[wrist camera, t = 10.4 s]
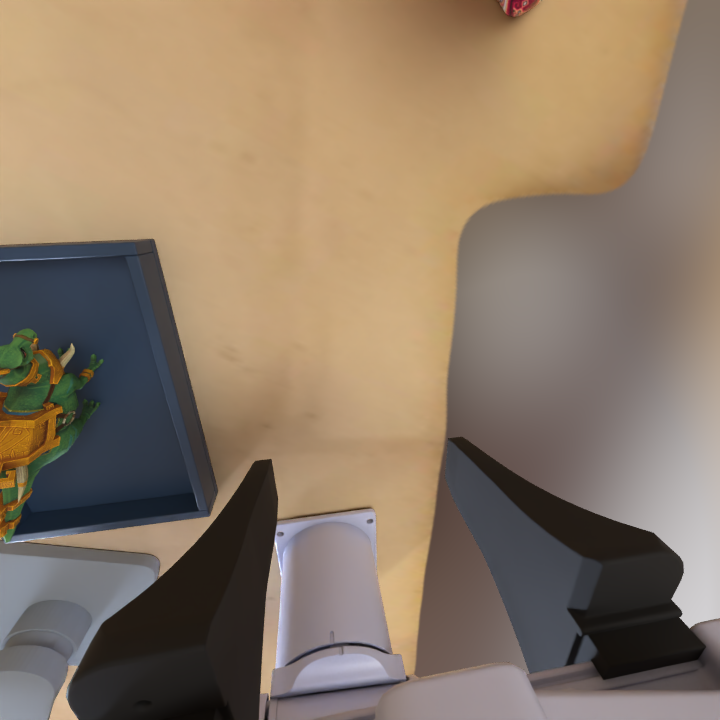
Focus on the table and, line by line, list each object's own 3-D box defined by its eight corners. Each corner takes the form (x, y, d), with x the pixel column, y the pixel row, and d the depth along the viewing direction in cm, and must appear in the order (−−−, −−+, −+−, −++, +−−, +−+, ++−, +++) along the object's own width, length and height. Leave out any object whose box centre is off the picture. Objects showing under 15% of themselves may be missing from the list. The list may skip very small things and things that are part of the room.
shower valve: (-98, 767, 23) (-132, 625, 18) (-26, 669, 28) (-37, 536, 23) (108, 758, 26) (127, 635, 21) (140, 671, 31) (161, 555, 26)
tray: (218, 491, 25) (210, 516, 22) (32, 514, 23) (4, 544, 21) (154, 239, 18) (134, 241, 16) (-114, 249, 16) (-176, 254, 14)
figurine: (121, 314, 19) (-4, 379, 11) (93, 482, 22) (-14, 615, 15) (56, 294, 18) (-126, 351, 10) (38, 472, 21) (-104, 608, 14)
